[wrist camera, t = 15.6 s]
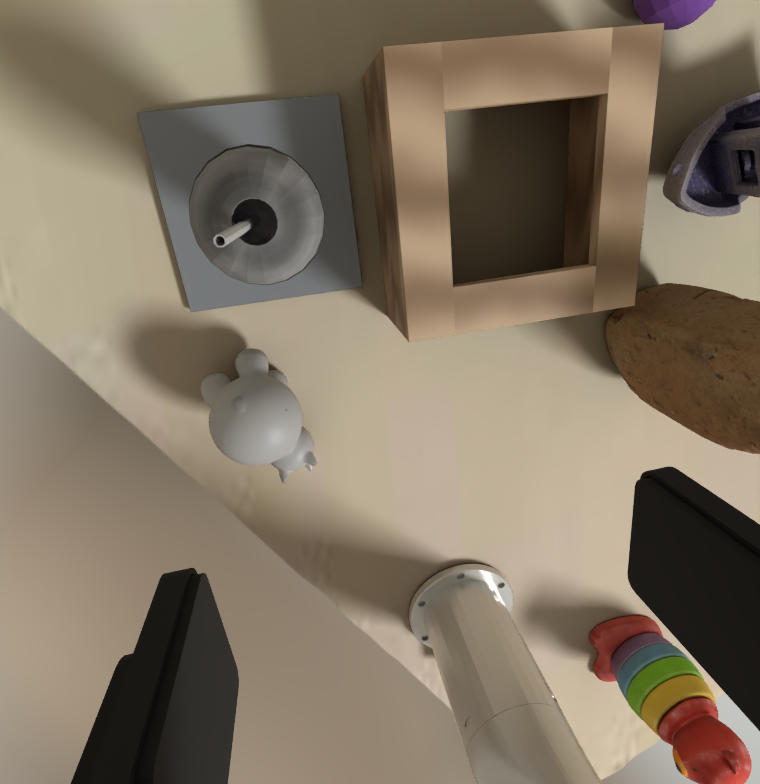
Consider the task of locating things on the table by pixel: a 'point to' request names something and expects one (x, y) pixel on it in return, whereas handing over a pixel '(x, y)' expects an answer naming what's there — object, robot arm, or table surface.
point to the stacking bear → (670, 699)
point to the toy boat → (719, 161)
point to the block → (693, 359)
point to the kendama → (671, 11)
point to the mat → (266, 128)
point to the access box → (584, 174)
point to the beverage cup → (256, 214)
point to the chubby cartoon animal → (257, 416)
